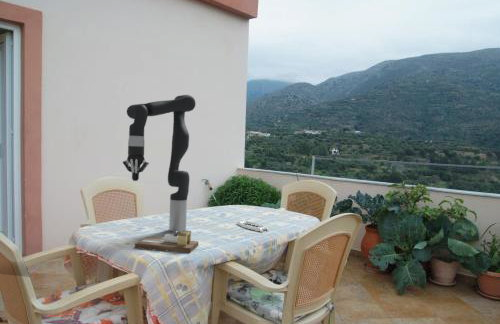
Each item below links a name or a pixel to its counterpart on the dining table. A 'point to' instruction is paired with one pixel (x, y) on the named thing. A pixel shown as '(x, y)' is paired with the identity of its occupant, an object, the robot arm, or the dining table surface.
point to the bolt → (171, 237)
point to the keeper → (184, 238)
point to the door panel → (165, 245)
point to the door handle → (252, 227)
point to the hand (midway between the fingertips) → (135, 180)
